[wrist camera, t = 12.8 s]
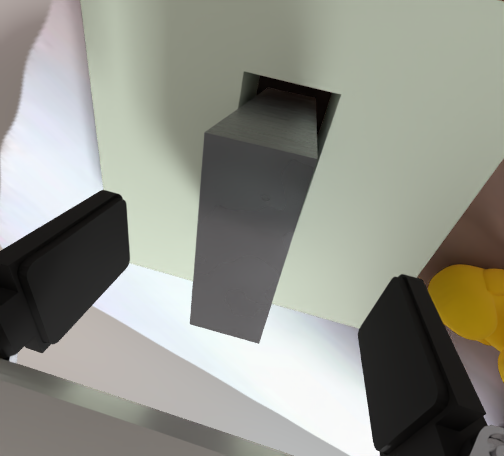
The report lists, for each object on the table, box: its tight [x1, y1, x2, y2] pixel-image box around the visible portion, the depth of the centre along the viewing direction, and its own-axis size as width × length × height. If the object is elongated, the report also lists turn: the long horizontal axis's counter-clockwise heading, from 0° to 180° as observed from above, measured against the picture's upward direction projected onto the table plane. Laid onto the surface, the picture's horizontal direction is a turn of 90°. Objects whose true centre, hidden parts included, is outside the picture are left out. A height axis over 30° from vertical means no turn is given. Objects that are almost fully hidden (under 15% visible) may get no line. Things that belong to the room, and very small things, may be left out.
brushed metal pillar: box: [190, 87, 318, 343], centre depth 14 cm, size 3×8×12 cm, turn 170°
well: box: [80, 0, 504, 329], centre depth 17 cm, size 20×18×5 cm
